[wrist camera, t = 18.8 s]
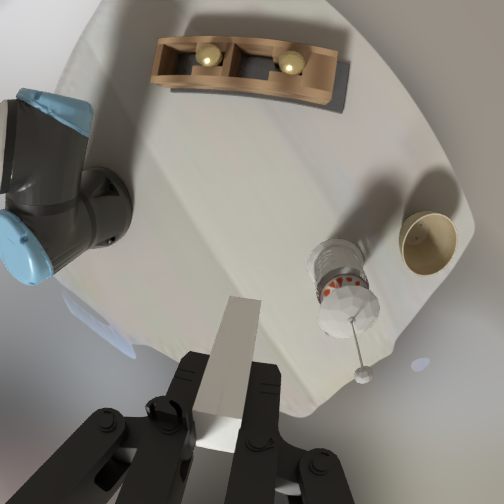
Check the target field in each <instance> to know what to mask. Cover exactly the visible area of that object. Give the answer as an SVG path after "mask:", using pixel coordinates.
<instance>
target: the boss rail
mask: <svg viewBox="0 0 504 504" xmlns="http://www.w3.org/2000/svg"><path fill="white" fill-rule="evenodd" d="M222 57H223V55H222V52H221V51H220V50H219V48H218V47H217V46H215V45H213V44H206V45H203V46H201V47H200V48H199V49H198V50H197V52H196V54H179V59H178V64H177V69H176V75H191V73H192V68H193V66H204V67H206V68H213V67H215V66H223V62H222ZM304 65H305V60H304V58H303V56H302V55H301V54H300V53H298V52H296V51H286V52H284V53H282V54H281V56H280V57H279V67H280V68H279V67H275V65H274V61H273V58H267V57H258V56H247V55H242V60H241V66H240V71H239V78H249V79H258V80H266V81H268V78H269V71H275V72H282V73H284V74H286V75H289V76H296V75H300V76H302V72H303V69H304ZM348 72H349V65H348V64H345V63H341V62H337V65H336V72H335V79H334V85H333V92H332V98H331V101H329V102H328V103H327V104H326V105H322V104H317V103H313V102H308V101H303V100H297V99H292V98H286V97H279V96H273V95H266V94H258V93H250V92H240V91H229V90H216V89H196V88H171V91H170V92H173V93H204V94H220V95H232V96H243V97H252V98H260V99H267V100H274V101H281V102H287V103H293V104H298V105H303V106H309V107H313V108H318V109H323V110H327V111H332V112H336V113H340V114H342V112H343V106H344V99H345V93H346V86H347V79H348Z"/></svg>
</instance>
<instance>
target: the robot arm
mask: <svg viewBox="0 0 504 504" xmlns="http://www.w3.org/2000/svg"><path fill="white" fill-rule="evenodd" d="M16 98H17V99H13V100H3V101H2V102H1V103H0V194H4V193H6V201H5V202H6V203H5V205H6V206H5V209H2V210H0V258H1V260H2V261H3V263H4V265H5V266H6V268H7V269H8V270H9V272H10V273H11V274H12V275H13V276H14V277H15V278H16V279H17V280H19V281H20V282H22V283H23V284H26V285H29V286H34V285H37V284H39V283H41V282H42V281H44V280H45V279H47V278H50V277H52V276H53V275H54V274H55V273H56V272H58V271H59V270H60V269H62V268H63V267H64V266H66V265H67V264H68V263H70V262H71V261H72V260H74V259H75V258H77V257H78V256H79V255H81V254H82V253H83V252H85V251H86V250H88V249H95V248H102V247H107V246H110V245H112V244H114V243H115V242H117V241H118V240H120V239H121V238H122V237H123V236H124V235H125V233H126V232H127V230H128V228H129V225H130V222H131V216H132V207H131V200H130V196H129V193H128V191H127V188H126V187H125V185H124V183H123V182H122V180H121V179H120V178H119V177H118V176H117V175H116V174H115V173H114V172H112V171H110V170H108V169H106V168H102V167H95V168H91V169H87V170H84V171H83V165H84V160H85V155H86V150H87V145H88V140H89V138H90V129H91V124H92V119H93V108H92V106H91V105H90V104H89V103H88V102H86V101H83V100H79V99H75V98H70V97H66V96H62V95H57V94H52V93H47V92H43V91H37V90H31V89H26V88H21V89H20V90H19V92H18V93H17V95H16ZM260 306H261V300H254V299H247V298H240V297H234V296H230V297H229V300H228V303H227V306H226V309H225V312H224V315H223V318H222V321H221V324H220V327H219V330H218V333H217V336H216V339H215V342H214V345H213V348H212V351H211V354H210V355H207V354H202V353H197V352H192V351H190V352H188V353H187V354H186V355H185V356H184V357H183V358H182V359H181V361H180V363H179V365H178V368H177V370H176V372H175V375H174V378H173V379H172V382H171V384H170V386H169V389H168V391H167V394H166V396H159V397H155V398H153V399H152V400H150V401H149V402H148V403H147V404H146V406H145V408H146V411H147V414H148V416H146V417H123V415H122V414H121V413H120V412H118V411H117V410H114V409H112V408H102V409H98V410H97V411H95V412H94V413H92V415H91V416H90V417H89V418H88V419H87V420H86V421H85V422H84V423H83V424H82V425H81V426H80V427H79V428H78V429H77V430H76V431H75V432H74V433H73V434H72V435H71V436H70V437H69V438H68V439H67V440H66V442H64V444H62V445H61V446H60V448H59V449H58V450H57V451H56V452H55V453H54V454H53V455H52V456H51V457H50V458H49V459H48V460H47V461H46V462H45V463H44V464H43V465H42V466H41V467H40V468H39V469H38V470H37V471H36V472H35V473H34V474H33V475H32V476H31V477H30V478H29V480H28V481H27V482H26V483H25V484H24V485H23V486H22V487H21V488H20V489H19V490H18V491H17V492H16V493H15V494H14V495H13V496H12V497H11V498H10V499H9V500H8V501H7V502H6V503H5V504H106V503H107V502H108V501H109V499H111V497H112V496H113V495H114V493H115V492H116V491H117V490H118V489H119V487H120V486H121V485H122V484H123V485H122V487H121V490H120V492H119V495H118V497H117V500H116V502H115V504H181V502H182V498H183V494H184V491H185V487H186V483H187V480H188V476H189V473H190V469H191V466H192V462H193V450H194V447H195V444H196V445H197V446H200V447H205V448H210V449H215V450H220V451H225V452H232V453H234V457H233V462H232V467H231V473H230V477H229V482H228V487H227V493H226V498H225V502H224V504H274V497H275V490H276V491H279V492H281V493H283V494H284V497H285V503H286V504H355V503H354V500H353V497H352V494H351V491H350V489H349V486H348V483H347V480H346V477H345V474H344V471H343V468H342V466H341V463H340V460H339V459H338V457H337V455H335V454H334V453H333V452H331V451H330V450H326V449H323V448H321V449H320V448H315V449H312V450H310V451H306V450H303V449H300V448H297V447H294V446H292V445H290V444H288V443H287V442H285V441H284V440H283V438H282V437H281V436H280V433H279V431H278V420H279V405H280V388H281V387H280V386H281V373H280V371H279V369H278V367H277V365H275V364H267V363H260V362H253V361H252V359H253V353H254V346H255V340H256V333H257V327H258V320H259V313H260Z"/></svg>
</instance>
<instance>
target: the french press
mask: <svg viewBox="0 0 504 504" xmlns="http://www.w3.org/2000/svg"><path fill="white" fill-rule="evenodd" d="M363 263H364V260H363V257H362V254H361V251H360V250H359V249H358V248H357V246H356V245H355V244H354V243H352V242H349V241H347V240H345V239H330V240H328V241H325V242H322V243H320V244H319V245H318V246H317V247H316V248H315V249H314V250H313V251H312V253H311V255H310V257H309V259H308V263H307V272H308V274H309V277H310V279H311V281H312V282H313V283H314V284H315V287H316V294H318V295H319V297H318V295H317V298H318V301H319V303H320V306H319V308H318V316H317V319H318V322H319V324H320V327H321V328H322V329H323V330H324V331H325V333H326V335H327V336H328V335H331V336H334V337H337V338H352V337H354V338H355V342H356V346H357V350H358V355H359V359H360V364H361V367H360V368H358V369H357V370H356V371H355V373H354V375H355V379H356V381H357V382H358V383H362V384H364V383H366V382H369V381H370V380H371V379H372V377H373V372H372V368H371V367H368V366H363V363H362V359H361V355H360V350H359V346H358V342H357V338H356V336H358V335H360V334H362V333H364V332H365V331H367V330H368V329H369V328H371V327H372V325H373V324H374V323H375V321H376V320H377V318H378V314H379V310H380V306H379V302H378V299H377V297H376V296H375V295H374V294H373V293H372V292H371V291H370V290H369V284H368V280H367V277H366V275H365V273H364V270H363ZM363 274H364V276H363ZM360 275H361V277H360ZM362 276H363V279H362ZM365 277H366V282H365ZM317 287H318V288H317ZM317 290H318V292H319V293H318V292H317Z"/></svg>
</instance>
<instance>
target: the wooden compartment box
mask: <svg viewBox="0 0 504 504" xmlns="http://www.w3.org/2000/svg"><path fill="white" fill-rule="evenodd" d="M206 44H213V45H215V46H217V47H218V48H219V50H220V51H221V52H222V55H223V57H222V62H223V66H215V67H213V68H206V67H204V66H193V68H192V73H191V75H176V69H177V64H178V59H179V54H196V52H197V50H198V49H199V48H200V47H201V46H203V45H206ZM286 51H296V52H298V53H300V54H301V55H302V56H303V58H304V60H305V65H304V69H303V72H302V76H300V75H296V76H289V75H286V74H284V73H282V72H275V71H269V78H268V81H266V80H258V79H249V78H239V71H240V66H241V60H242V55H247V56H258V57H267V58H273V61H274V65H275V67H279V57H280V56H281V54H282V53H284V52H286ZM337 57H338V51H335V50H331V49H326V48H321V47H316V46H311V45H306V44H300V43H294V42H287V41H280V40H272V39H262V38H250V37H234V36H185V37H169V38H158V43H157V48H156V52H155V57H154V62H153V68H152V73H151V79H150V83H153V84H156V85H160V86H163V87H166V88H196V89H216V90H229V91H240V92H250V93H258V94H266V95H273V96H279V97H286V98H292V99H297V100H303V101H308V102H313V103H317V104H322V105H326V104H327V103H328V102H329V101H331V98H332V92H333V85H334V79H335V72H336V65H337ZM279 68H280V67H279Z"/></svg>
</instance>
